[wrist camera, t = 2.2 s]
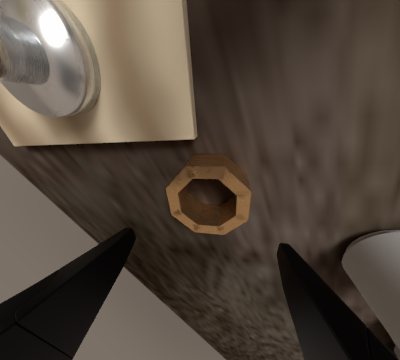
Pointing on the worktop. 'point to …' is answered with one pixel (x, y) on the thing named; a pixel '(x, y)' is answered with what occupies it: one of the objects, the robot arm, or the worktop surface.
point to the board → (122, 79)
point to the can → (378, 275)
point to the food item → (397, 351)
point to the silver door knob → (47, 58)
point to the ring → (210, 214)
